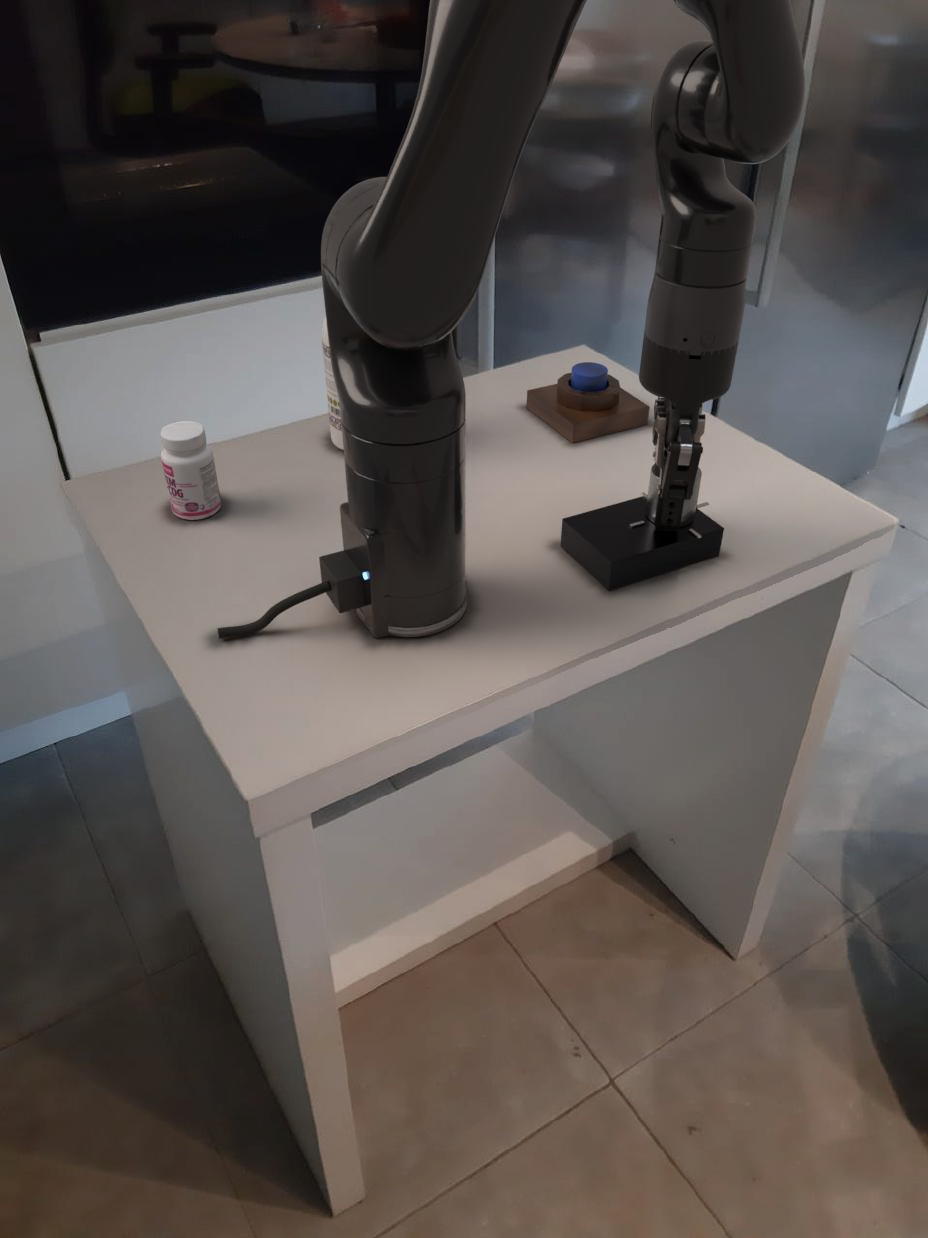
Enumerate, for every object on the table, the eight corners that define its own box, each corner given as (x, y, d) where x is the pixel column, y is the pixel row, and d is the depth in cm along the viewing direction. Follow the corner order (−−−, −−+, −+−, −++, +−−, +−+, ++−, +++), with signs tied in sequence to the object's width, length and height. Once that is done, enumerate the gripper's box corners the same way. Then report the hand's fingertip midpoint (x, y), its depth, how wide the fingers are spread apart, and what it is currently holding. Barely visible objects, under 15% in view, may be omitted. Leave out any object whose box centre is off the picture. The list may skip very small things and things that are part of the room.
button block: (572, 443, 107) (574, 409, 104) (526, 407, 114) (527, 375, 111) (647, 424, 110) (651, 391, 108) (598, 391, 117) (601, 359, 115)
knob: (686, 532, 86) (693, 484, 84) (638, 520, 88) (644, 472, 85) (700, 509, 90) (708, 462, 87) (654, 498, 91) (661, 451, 88)
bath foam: (376, 460, 104) (365, 268, 91) (319, 448, 106) (300, 259, 94) (405, 432, 109) (398, 247, 97) (350, 421, 111) (336, 239, 99)
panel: (610, 593, 84) (614, 562, 82) (558, 544, 90) (560, 515, 89) (732, 554, 89) (738, 524, 87) (675, 510, 95) (679, 482, 93)
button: (583, 396, 108) (584, 378, 106) (563, 383, 111) (564, 365, 109) (613, 389, 109) (615, 372, 108) (593, 376, 112) (595, 359, 111)
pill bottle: (162, 516, 94) (145, 437, 89) (188, 493, 98) (173, 415, 93) (206, 524, 93) (191, 444, 88) (230, 500, 97) (217, 422, 92)
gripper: (640, 298, 85) (619, 474, 95) (649, 362, 73) (625, 554, 83) (728, 302, 84) (698, 478, 94) (752, 367, 73) (714, 559, 83)
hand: (664, 513), depth 89 cm, fingers closed on knob, 4 cm apart
